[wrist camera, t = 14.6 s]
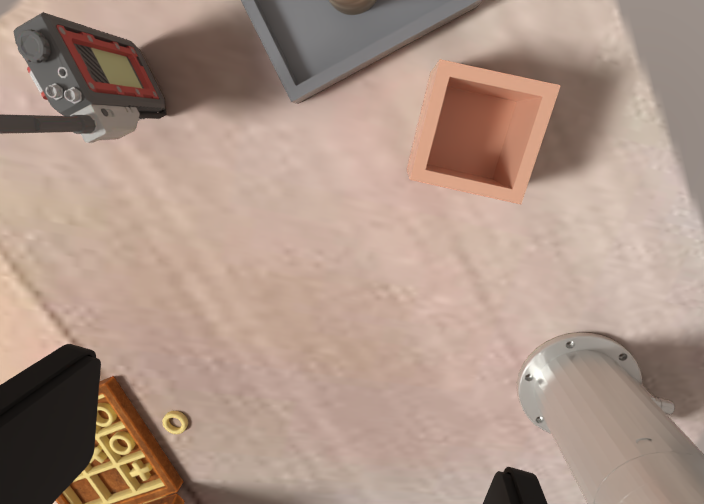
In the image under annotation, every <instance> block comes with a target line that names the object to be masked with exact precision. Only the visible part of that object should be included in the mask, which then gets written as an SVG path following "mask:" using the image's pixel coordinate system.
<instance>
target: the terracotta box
mask: <svg viewBox="0 0 704 504" xmlns="http://www.w3.org/2000/svg"><path fill="white" fill-rule="evenodd" d="M560 86H561V85H557V84H552V83H548V82H543V81H538V80H534V79H529V78H524V77H520V76H515V75H510V74H506V73H501V72H496V71H492V70H487V69H483V68H478V67H473V66H469V65H464V64H459V63H455V62H450V61H445V60H441V59H440V60H439V61H438V63H437V64H436V65H435V67H434V68H433V70H432V71H431V73H430V77H429V81H428V85H427V89H426V93H425V97H424V101H423V105H422V109H421V113H420V118H419V122H418V126H417V130H416V134H415V138H414V142H413V146H412V150H411V154H410V158H409V162H408V166H407V172H408V175H409V178H410V180H414V181H418V182H422V183H427V184H431V185H436V186H440V187H445V188H449V189H454V190H458V191H463V192H467V193H472V194H476V195H481V196H485V197H490V198H494V199H499V200H503V201H508V202H512V203H517V204H521V203H522V200H523V197H524V194H525V191H526V188H527V185H528V182H529V179H530V176H531V173H532V170H533V167H534V164H535V161H536V158H537V155H538V152H539V149H540V146H541V143H542V140H543V137H544V134H545V131H546V128H547V125H548V122H549V119H550V116H551V113H552V110H553V107H554V104H555V101H556V98H557V95H558V92H559V89H560Z"/></svg>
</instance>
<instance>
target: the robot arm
mask: <svg viewBox="0 0 704 504" xmlns="http://www.w3.org/2000/svg"><path fill="white" fill-rule="evenodd" d="M567 342H568V343H567ZM100 369H101V362H100V360H99V359H97V358H96V354H95V352H94V351H93V350H90V349H86V348H83V347H79V346H76V345H72V344H66V345H64V346H62V347H60V348H59V349H57V350H56V351H54V352H52V353H51V354H49V355H48V356H46V357H44V358H43V359H41V360H40V361H38V362H36V363H35V364H33V365H32V366H30V367H28V368H27V369H25V370H24V371H22V372H21V373H19V374H17V375H16V376H14V377H13V378H11V379H9V380H8V381H6V382H5V383H3V384H1V385H0V504H53V502H54V501H55V500H56V499H57V498H58V497H59V496H60V495H61V494H62V493H63V492H64V491H65V490H66V489H67V488H68V487H69V485H70V484H71V483H72V482H73V481H74V480H75V479H76V478H77V477H78V476H79V475H80V474H81V473H82V472H83V471H84V470H85V468H86V467H87V466H88V464H89V463H90V461H91V459H92V457H93V454H94V448H95V435H96V421H97V408H98V395H99V382H100ZM517 395H518V399H519V402H520V404H521V406H522V409H523V411H524V412H525V414H526V415H527V417H528V418H529V419H530V420H531V421H532V422H533V423H534V424H535V425H536V426H538V427H539V428H541V429H542V430H544V431H546V432H548V433H550V434H552V436H553V438H554V440H555V442H556V443H557V445H558V447H559V449H560V451H561V453H562V455H563V457H564V459H565V461H566V463H567V465H568V467H569V469H570V471H571V473H572V475H573V477H574V478H575V480H576V482H577V484H578V486H579V488H580V490H581V492H582V494H583V496H584V498H585V500H586V502H587V504H704V454H703V453H702V451H700V449H699V448H698V447H697V446H696V445H695V444H694V443H693V442H692V441H691V440H690V439H689V438H688V437H687V436H686V435H685V434H684V432H683V431H682V430H681V429H680V428H679V427H678V426H677V425H676V424H675V422H673V421H672V420H671V419H670V418H669V417H668V416H667V414H672V413H673V412H674V404H673V402H672V401H670V400H666V399H661V398H654V397H653V396H652V395H651V394H650V393H649V392H648V390H647V389H646V388H645V387H644V386H643V385H642V375H641V370H640V368H639V366H638V363H637V361H636V360H635V359H634V357H633V356H632V355H631V353H630V352H628V351H627V350H626V349H625V348H624V347H623V346H622V345H620V344H619V343H618V342H616V341H615V340H613V339H610V338H608V337H606V336H603V335H599V334H595V333H584V332H579V333H570V334H565V335H562V336H558V337H555V338H553V339H551V340H549V341H547V342H545V343H544V344H542V345H541V346H539V347H538V348H536V349H535V350H534V351H533V352H532V353H531V354H530V355H529V356H528V358H527V359H526V361H525V362H524V363H523V365H522V367H521V370H520V372H519V374H518V379H517ZM483 504H547V501H546V499H545V496H544V494H543V491H542V489H541V486H540V484H539V481H538V479H537V477H536V475H534V474H533V473H529V472H526V471H522V470H519V469H515V468H511V467H507V468H506V469H505V470H504V472H500V471H498V472H497V473H496V474H495V476H494V478H493V481H492V483H491V485H490V488H489V490H488V493H487V495H486V497H485V500H484V502H483Z"/></svg>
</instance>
